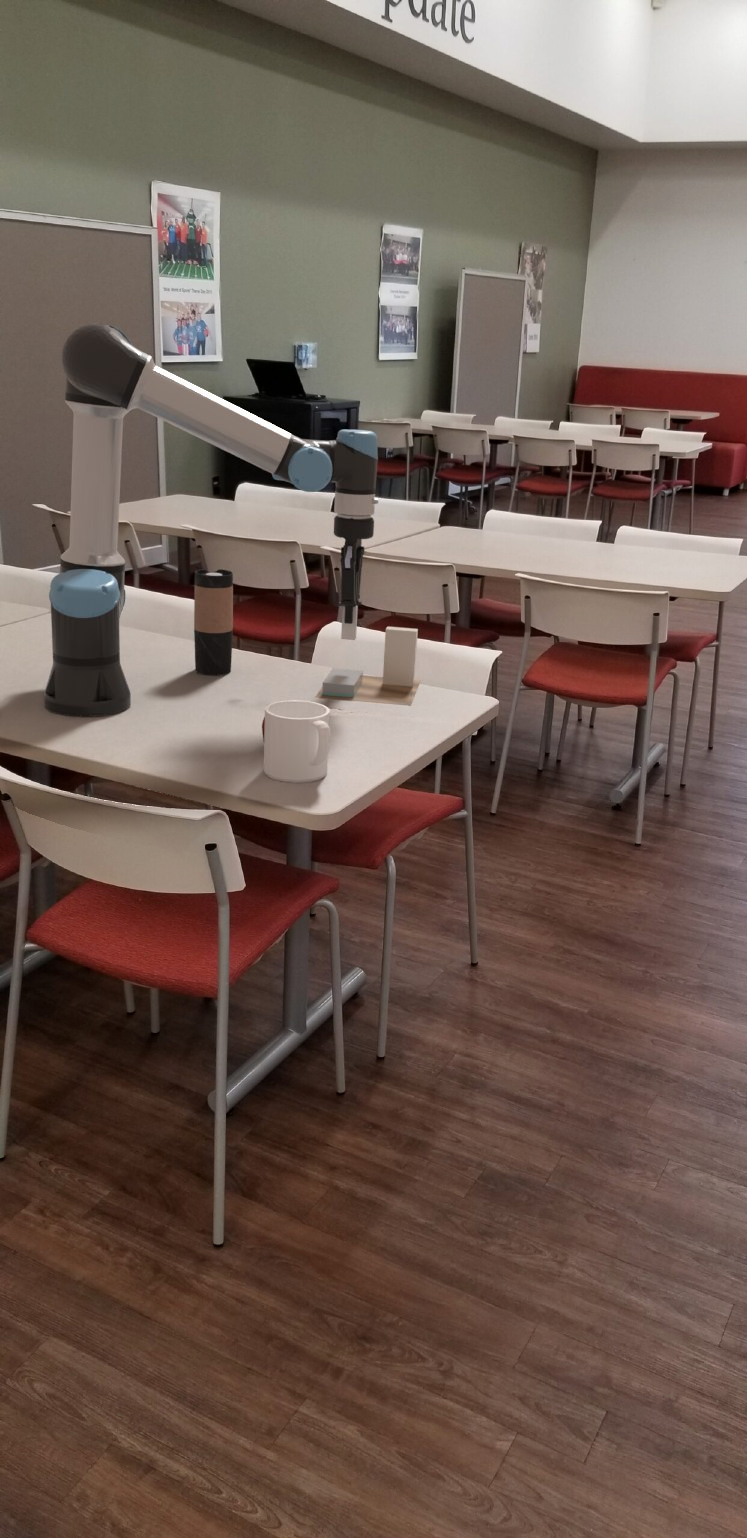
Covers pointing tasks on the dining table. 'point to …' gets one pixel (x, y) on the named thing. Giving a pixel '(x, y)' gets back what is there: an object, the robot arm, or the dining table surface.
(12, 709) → the dining table surface
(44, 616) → the dining table surface
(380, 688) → the board
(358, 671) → the tile teal
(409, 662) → the tile plain
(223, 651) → the travel mug
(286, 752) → the mug
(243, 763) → the dining table surface
